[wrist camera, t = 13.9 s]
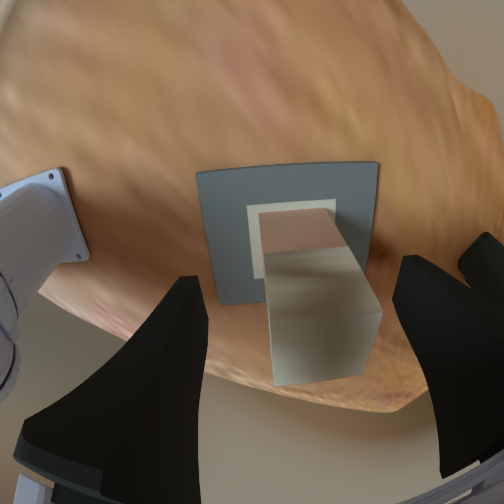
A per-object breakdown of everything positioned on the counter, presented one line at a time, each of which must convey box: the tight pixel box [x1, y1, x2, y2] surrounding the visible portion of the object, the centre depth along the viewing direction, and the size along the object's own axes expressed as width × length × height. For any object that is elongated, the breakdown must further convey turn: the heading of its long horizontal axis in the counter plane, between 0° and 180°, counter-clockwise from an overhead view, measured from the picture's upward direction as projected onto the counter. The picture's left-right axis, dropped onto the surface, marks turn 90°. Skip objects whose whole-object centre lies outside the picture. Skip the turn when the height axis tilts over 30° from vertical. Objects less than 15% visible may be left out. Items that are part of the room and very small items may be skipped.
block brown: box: [258, 208, 347, 303], centre depth 18 cm, size 4×4×5 cm
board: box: [195, 161, 378, 305], centre depth 20 cm, size 12×11×1 cm
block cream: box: [263, 246, 384, 387], centre depth 14 cm, size 4×4×5 cm
